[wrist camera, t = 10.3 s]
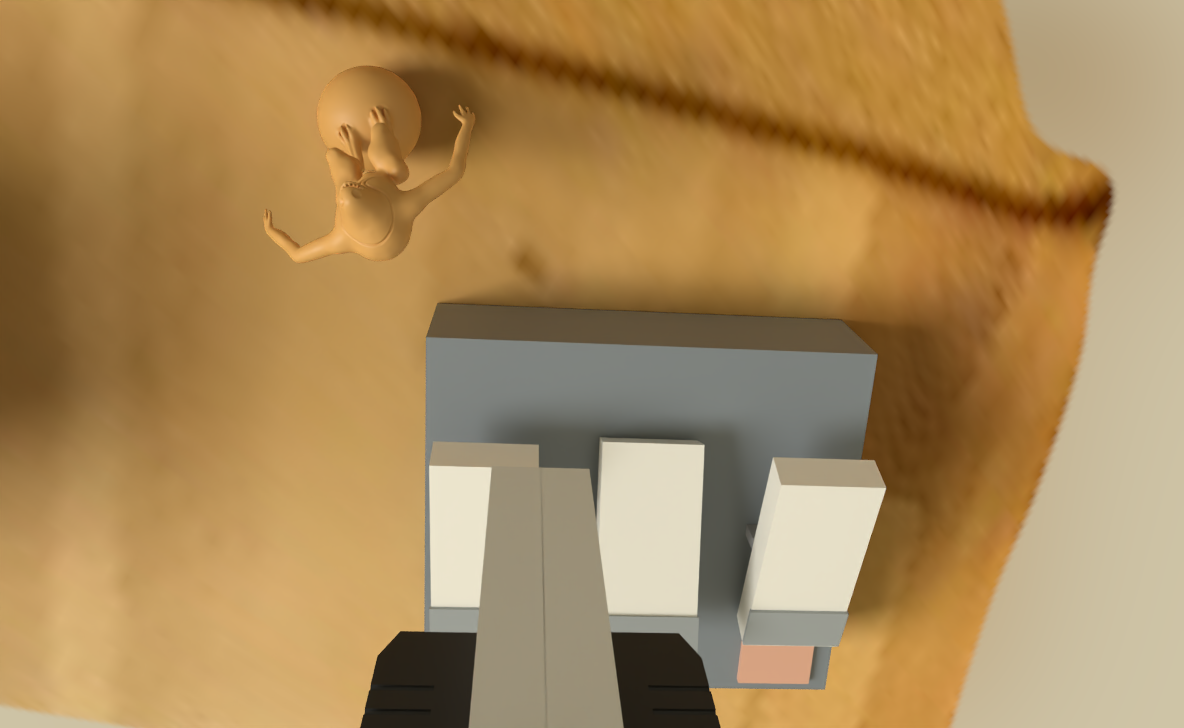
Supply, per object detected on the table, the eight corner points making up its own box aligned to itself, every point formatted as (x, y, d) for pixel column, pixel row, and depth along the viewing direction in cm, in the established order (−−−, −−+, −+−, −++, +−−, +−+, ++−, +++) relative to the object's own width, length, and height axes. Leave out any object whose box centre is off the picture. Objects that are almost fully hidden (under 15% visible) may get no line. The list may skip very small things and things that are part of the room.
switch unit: (437, 303, 43) (423, 346, 37) (841, 319, 45) (888, 364, 39) (434, 624, 49) (421, 706, 43) (796, 630, 50) (831, 711, 44)
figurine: (441, 20, 40) (406, 18, 28) (513, 155, 42) (507, 205, 30) (263, 118, 40) (159, 154, 29) (341, 246, 42) (273, 328, 31)
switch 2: (598, 437, 40) (601, 442, 38) (698, 440, 41) (706, 445, 39) (589, 656, 41) (592, 671, 39) (689, 658, 41) (696, 673, 39)
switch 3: (771, 457, 38) (780, 487, 37) (875, 460, 38) (888, 490, 37) (735, 615, 43) (742, 647, 42) (827, 617, 44) (837, 649, 42)
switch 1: (431, 441, 38) (427, 467, 36) (540, 444, 38) (540, 471, 36) (433, 619, 42) (429, 650, 40) (530, 621, 42) (530, 651, 41)
